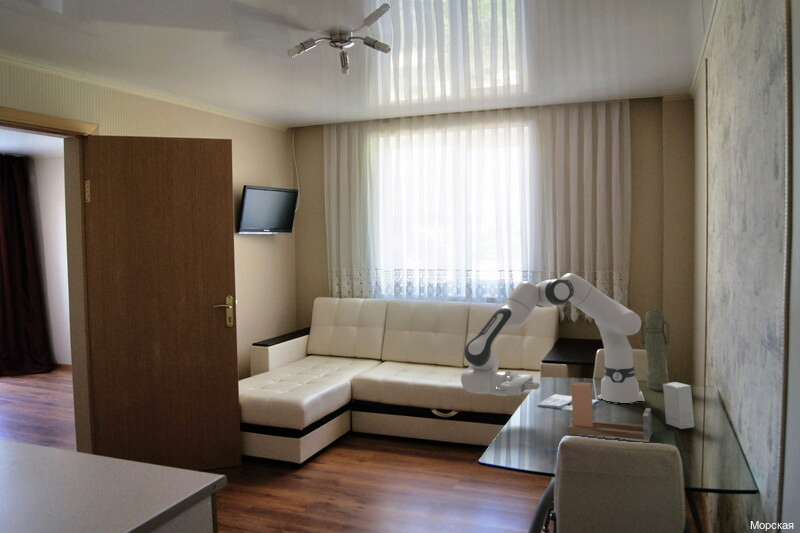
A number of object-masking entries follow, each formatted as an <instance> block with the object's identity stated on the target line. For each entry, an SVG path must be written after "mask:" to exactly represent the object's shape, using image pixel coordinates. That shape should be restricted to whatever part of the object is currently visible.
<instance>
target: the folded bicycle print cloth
mask: <svg viewBox="0 0 800 533" xmlns="http://www.w3.org/2000/svg"><path fill="white" fill-rule="evenodd" d="M597 401H599V402H600V399H592V406H594V405H595V404H594V403H595V402H597ZM568 404H569V405H568ZM570 404H571V405H570ZM593 404H594V405H593ZM536 406H537V407H542V408H551V409H557V410H562V411H563V410H564V411H572V395H563V394H557V393H555V394H553V395H551V396H549V397H547V398H545V399H544V400H542V401H541V402H539V403H537V404H536Z"/></svg>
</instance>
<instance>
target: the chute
mask: <svg viewBox="0 0 800 533" xmlns="http://www.w3.org/2000/svg"><path fill="white" fill-rule="evenodd" d="M651 410H652V409H651V408H649V407H645V410H644V412H643V415H642V424H639V423H638V424H637V423H636V424H634V423H625V422H624V423H623V422H614V421H603V420H602V421H599V420H593V427H583V426H573V419H572V421H571V422H572V425H570V424H569V425H567V426H566V428H567V429H566V430H567V435H570V436H571V435H573V434H582V435H593V436H600V437H599V438H603V437H605V438H606V439H612V440H613V439H615V438H620V439H619V440H623V439H625V441H626V440H627V441H636V442H637V441H638V442H646V443H649V442H650V438H651V437H652V436H651V435H652V434H653V433H652V432H653V431H652V411H651ZM582 435H581V436H582ZM615 440H616V439H615Z"/></svg>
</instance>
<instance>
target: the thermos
mask: <svg viewBox="0 0 800 533" xmlns="http://www.w3.org/2000/svg"><path fill="white" fill-rule="evenodd" d="M663 314H664V313H663V312H662V311H661V310H660V309H659V310H658V309H649V310H648V311H646V314H645V316H644V317H645V318H644V320H641V328H640V339H641V344H642V345H644V349H645V351H646V354H645V355H646V372H647V373H646V374H645V379H646V380H645V382H646V389H647V390H649V391H658V392H660V391H661V392H664V391H663V384H666V383H669V377H668V373H667V359H666V356H667V354H666V351H667V346H668V345H669V344H670V343H671V342H670V340H671V339H670V324H669V322H668V321H667V320H665V318H664V315H663ZM644 324H645V336H644ZM665 325H666V334H665V330H664V328H665Z"/></svg>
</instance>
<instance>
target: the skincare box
mask: <svg viewBox="0 0 800 533" xmlns="http://www.w3.org/2000/svg"><path fill="white" fill-rule="evenodd" d="M662 392H663V398H664V399H663V400H664V401H663V402H664V411H665V412H664V413H665V424H667V425H669V426H672V427H674V428H678V429H681V430H683V429H691V428H692V429H693V428H695V416H694V407H693V397H692V396H693V395H692V385H690V384H686V383H681V382H678V381H672V382H668V383H666V384H663V391H662Z"/></svg>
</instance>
